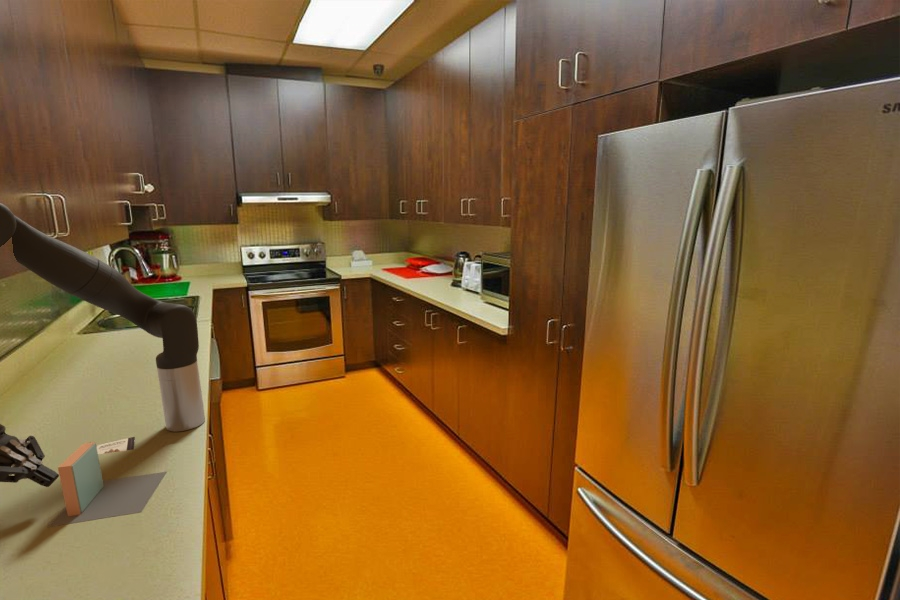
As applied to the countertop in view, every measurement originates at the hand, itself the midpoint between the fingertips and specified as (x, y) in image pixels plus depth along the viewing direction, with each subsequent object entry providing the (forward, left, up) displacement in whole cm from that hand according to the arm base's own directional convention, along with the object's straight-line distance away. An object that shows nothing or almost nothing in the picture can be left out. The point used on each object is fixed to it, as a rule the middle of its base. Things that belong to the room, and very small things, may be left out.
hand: (54, 481), depth 87 cm
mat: (0, +9, -6) cm, 11 cm away
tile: (0, +5, -5) cm, 7 cm away
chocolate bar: (-18, +1, -6) cm, 19 cm away
